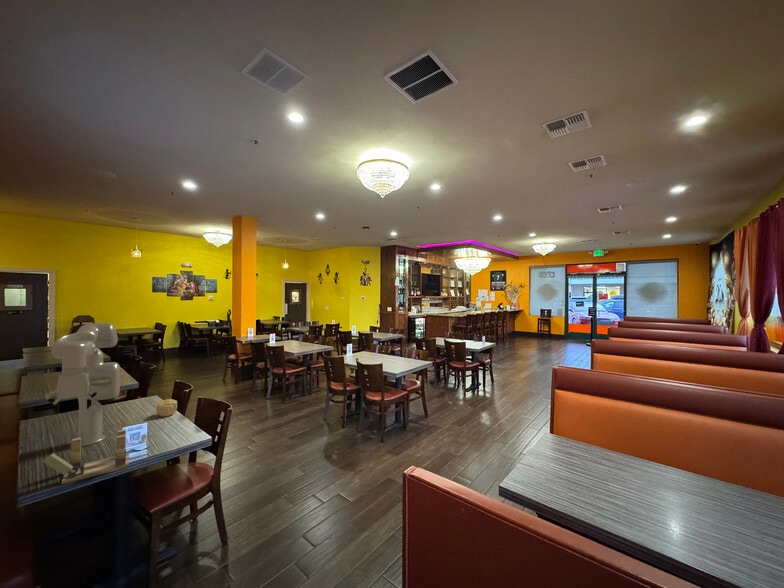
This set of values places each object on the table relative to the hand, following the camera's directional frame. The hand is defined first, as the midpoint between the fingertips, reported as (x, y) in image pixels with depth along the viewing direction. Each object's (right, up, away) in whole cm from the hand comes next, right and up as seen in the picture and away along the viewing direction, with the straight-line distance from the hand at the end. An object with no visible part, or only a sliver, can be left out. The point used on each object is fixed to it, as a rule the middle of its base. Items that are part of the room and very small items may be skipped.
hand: (72, 410), depth 141 cm
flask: (+7, -31, +29) cm, 43 cm away
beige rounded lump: (-13, -31, +77) cm, 84 cm away
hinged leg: (0, -28, 0) cm, 28 cm away
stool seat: (+4, -30, +8) cm, 31 cm away
